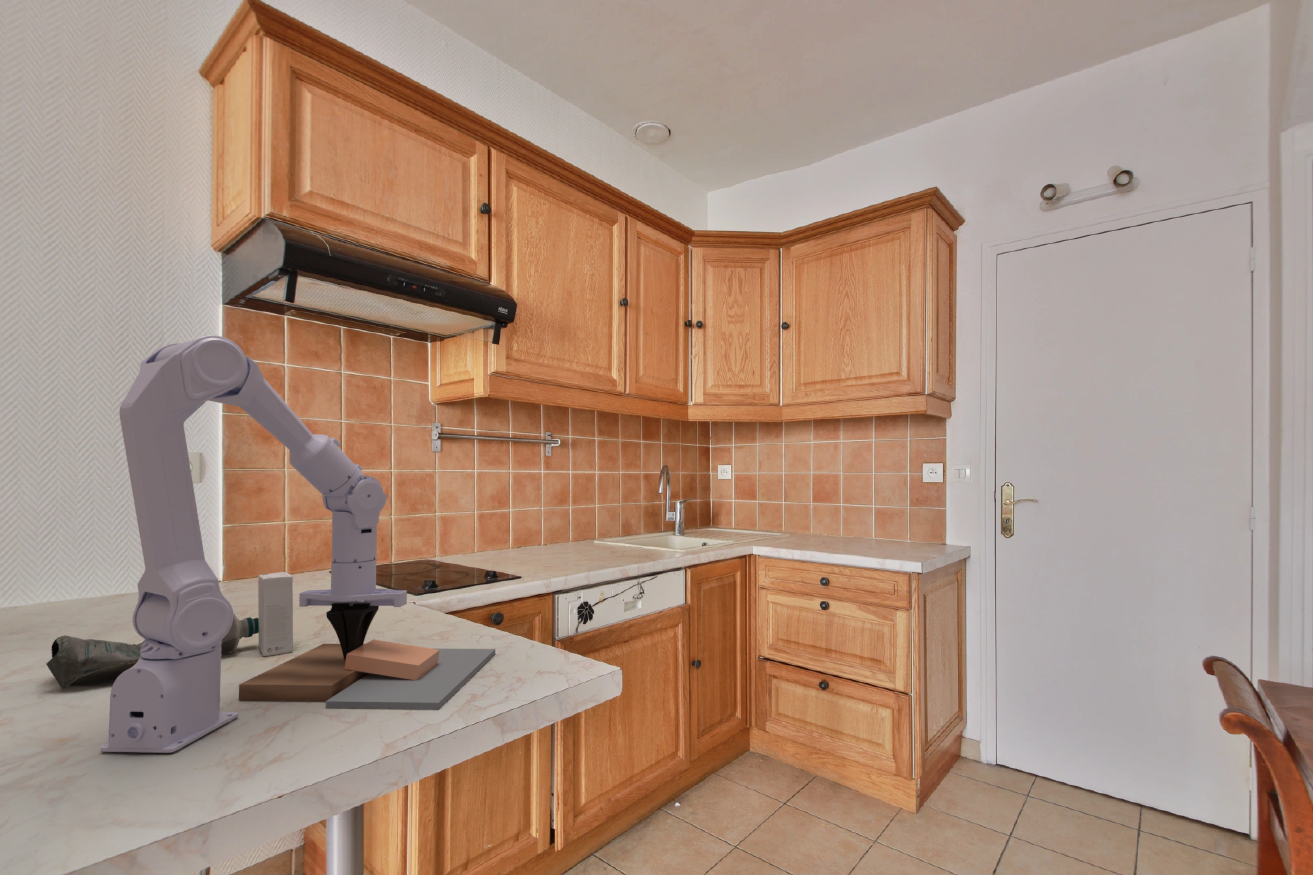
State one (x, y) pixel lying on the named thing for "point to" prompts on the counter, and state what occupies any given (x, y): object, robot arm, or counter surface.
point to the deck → (303, 678)
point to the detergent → (119, 652)
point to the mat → (415, 684)
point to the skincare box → (275, 613)
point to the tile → (392, 659)
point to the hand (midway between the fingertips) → (352, 657)
